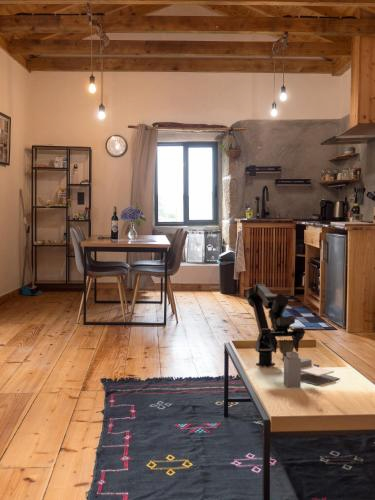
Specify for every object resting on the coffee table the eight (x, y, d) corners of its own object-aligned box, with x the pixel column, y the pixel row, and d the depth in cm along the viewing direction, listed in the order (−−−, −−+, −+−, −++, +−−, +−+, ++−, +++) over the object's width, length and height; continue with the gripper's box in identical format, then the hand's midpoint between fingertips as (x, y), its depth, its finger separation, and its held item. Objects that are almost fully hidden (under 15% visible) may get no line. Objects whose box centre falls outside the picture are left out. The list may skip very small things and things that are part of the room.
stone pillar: (283, 384, 211) (284, 351, 211) (295, 383, 212) (296, 351, 212) (288, 387, 206) (288, 354, 206) (300, 387, 207) (300, 354, 207)
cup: (295, 359, 252) (295, 342, 252) (279, 359, 253) (280, 342, 252) (292, 355, 260) (292, 339, 260) (277, 355, 260) (277, 339, 260)
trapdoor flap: (290, 368, 223) (290, 361, 223) (306, 365, 229) (306, 358, 229) (318, 376, 211) (318, 368, 211) (334, 372, 217) (334, 365, 217)
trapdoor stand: (283, 376, 223) (283, 366, 223) (307, 370, 232) (307, 361, 232) (316, 385, 209) (316, 375, 209) (339, 379, 218) (339, 369, 218)
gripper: (260, 309, 218) (269, 341, 208) (303, 308, 221) (314, 339, 211) (254, 325, 226) (262, 356, 216) (296, 323, 229) (306, 355, 219)
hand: (286, 351), depth 215 cm, fingers open, 9 cm apart
